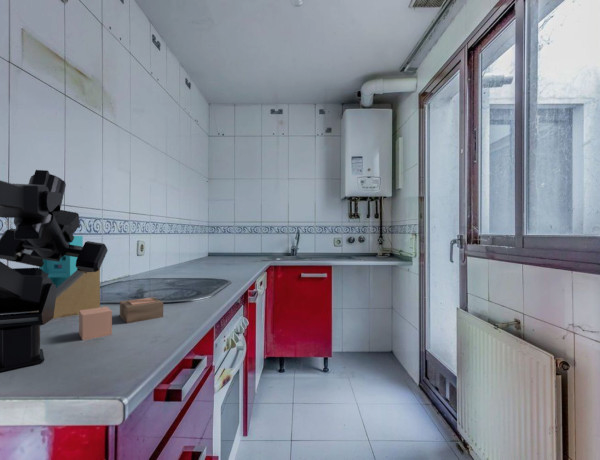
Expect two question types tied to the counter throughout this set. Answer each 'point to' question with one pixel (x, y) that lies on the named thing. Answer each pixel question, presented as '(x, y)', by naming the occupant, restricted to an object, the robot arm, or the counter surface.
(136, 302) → the oak base block
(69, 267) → the toy
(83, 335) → the terracotta cube
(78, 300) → the sandwich container
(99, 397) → the counter surface
